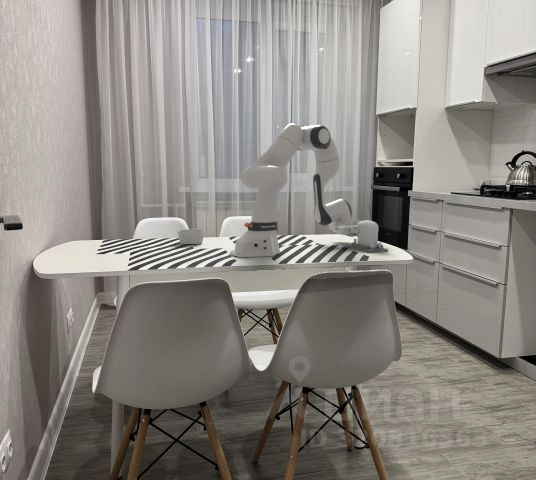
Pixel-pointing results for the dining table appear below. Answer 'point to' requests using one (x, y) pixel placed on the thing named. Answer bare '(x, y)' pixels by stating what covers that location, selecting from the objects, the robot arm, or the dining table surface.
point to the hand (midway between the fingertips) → (367, 230)
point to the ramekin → (191, 236)
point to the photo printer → (368, 233)
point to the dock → (366, 248)
